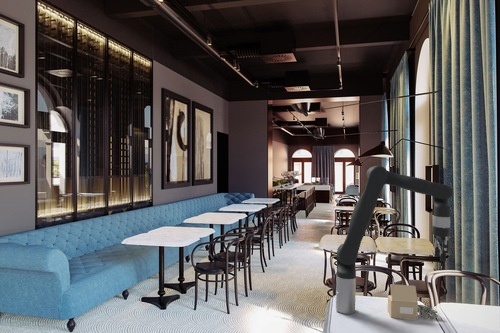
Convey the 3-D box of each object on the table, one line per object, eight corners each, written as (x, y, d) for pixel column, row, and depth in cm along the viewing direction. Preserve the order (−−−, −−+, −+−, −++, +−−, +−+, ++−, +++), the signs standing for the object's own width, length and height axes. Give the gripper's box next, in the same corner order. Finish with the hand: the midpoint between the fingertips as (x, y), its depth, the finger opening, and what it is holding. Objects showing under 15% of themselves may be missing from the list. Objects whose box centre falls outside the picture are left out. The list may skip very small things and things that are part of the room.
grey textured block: (438, 320, 176) (438, 312, 176) (421, 319, 178) (421, 311, 177) (430, 311, 187) (431, 303, 187) (415, 310, 188) (415, 302, 188)
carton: (391, 317, 178) (391, 301, 178) (387, 310, 187) (387, 294, 186) (417, 319, 176) (417, 303, 176) (412, 312, 185) (412, 296, 184)
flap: (391, 301, 178) (392, 300, 178) (390, 284, 182) (390, 284, 182) (417, 303, 176) (417, 302, 176) (415, 286, 180) (415, 285, 180)
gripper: (428, 222, 186) (427, 254, 186) (437, 227, 172) (436, 262, 172) (444, 223, 185) (443, 255, 185) (455, 228, 170) (453, 263, 171)
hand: (440, 259), depth 178 cm, fingers open, 8 cm apart
